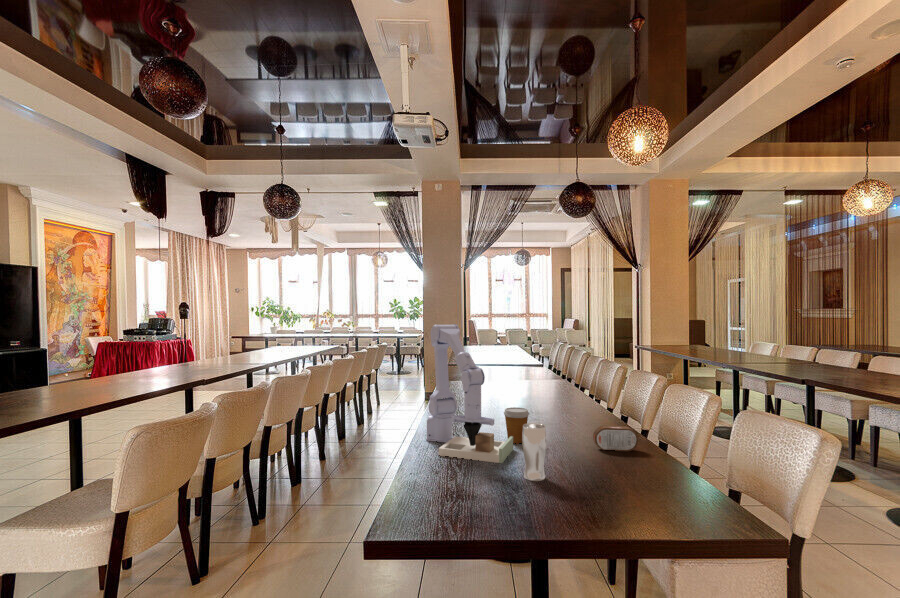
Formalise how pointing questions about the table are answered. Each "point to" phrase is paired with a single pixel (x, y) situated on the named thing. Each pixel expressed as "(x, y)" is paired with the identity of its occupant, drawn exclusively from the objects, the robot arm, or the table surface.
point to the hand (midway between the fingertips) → (472, 445)
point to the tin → (615, 438)
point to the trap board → (463, 450)
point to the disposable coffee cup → (515, 422)
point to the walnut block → (484, 442)
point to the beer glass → (534, 451)
